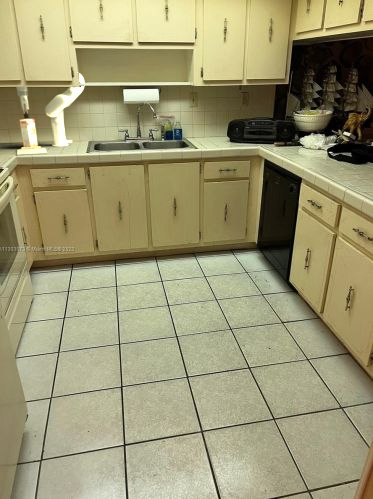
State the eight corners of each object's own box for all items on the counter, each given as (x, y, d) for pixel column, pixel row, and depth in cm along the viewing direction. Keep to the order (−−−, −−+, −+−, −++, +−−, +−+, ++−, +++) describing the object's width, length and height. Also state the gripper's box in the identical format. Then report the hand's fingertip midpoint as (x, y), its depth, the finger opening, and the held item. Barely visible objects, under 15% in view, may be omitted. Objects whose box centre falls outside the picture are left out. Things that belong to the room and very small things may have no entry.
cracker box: (31, 149, 281) (27, 120, 272) (23, 149, 281) (18, 120, 272) (38, 146, 294) (34, 118, 285) (31, 146, 294) (26, 118, 285)
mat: (45, 148, 284) (45, 146, 284) (47, 153, 263) (46, 151, 263) (17, 149, 277) (17, 147, 277) (16, 155, 257) (16, 153, 256)
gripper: (28, 94, 278) (32, 119, 285) (27, 93, 290) (31, 118, 298) (17, 94, 275) (21, 120, 283) (17, 93, 288) (21, 118, 295)
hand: (26, 118), depth 290 cm, fingers closed
